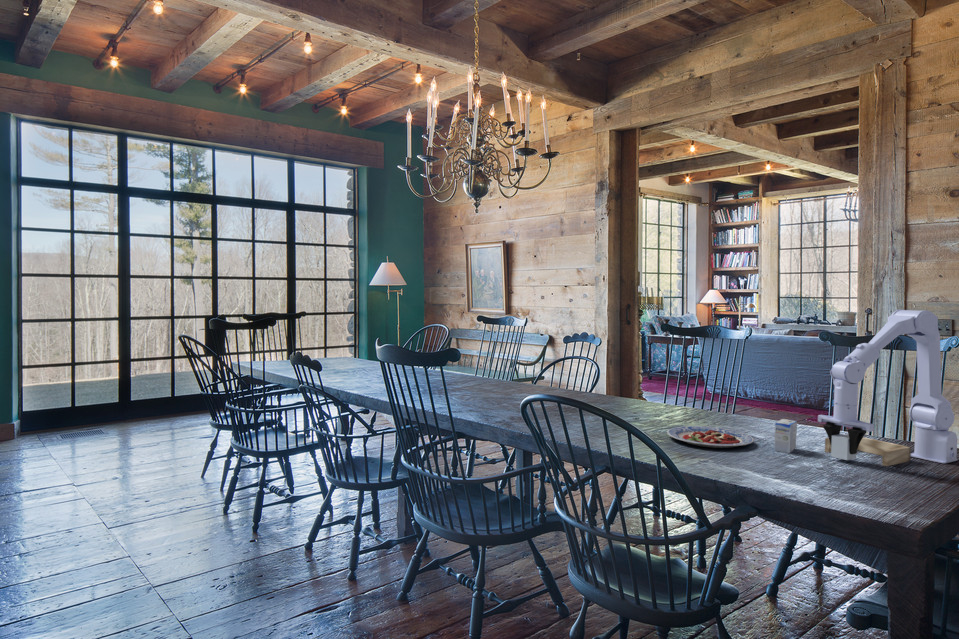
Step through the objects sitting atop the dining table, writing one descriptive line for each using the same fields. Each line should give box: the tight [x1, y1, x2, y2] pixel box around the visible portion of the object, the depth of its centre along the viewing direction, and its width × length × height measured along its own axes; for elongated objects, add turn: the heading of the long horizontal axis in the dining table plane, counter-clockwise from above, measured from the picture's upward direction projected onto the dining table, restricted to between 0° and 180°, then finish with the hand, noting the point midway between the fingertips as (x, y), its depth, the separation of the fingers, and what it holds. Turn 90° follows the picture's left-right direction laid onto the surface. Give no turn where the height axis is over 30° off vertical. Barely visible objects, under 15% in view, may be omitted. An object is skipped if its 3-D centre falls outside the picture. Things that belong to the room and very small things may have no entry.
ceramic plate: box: [666, 425, 755, 449], centre depth 194 cm, size 26×26×3 cm
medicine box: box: [773, 418, 798, 454], centre depth 184 cm, size 8×4×9 cm, turn 141°
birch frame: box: [824, 434, 912, 467], centre depth 178 cm, size 17×12×4 cm
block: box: [830, 433, 857, 461], centre depth 172 cm, size 4×4×6 cm
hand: (843, 451), depth 172 cm, fingers closed on block, 4 cm apart
